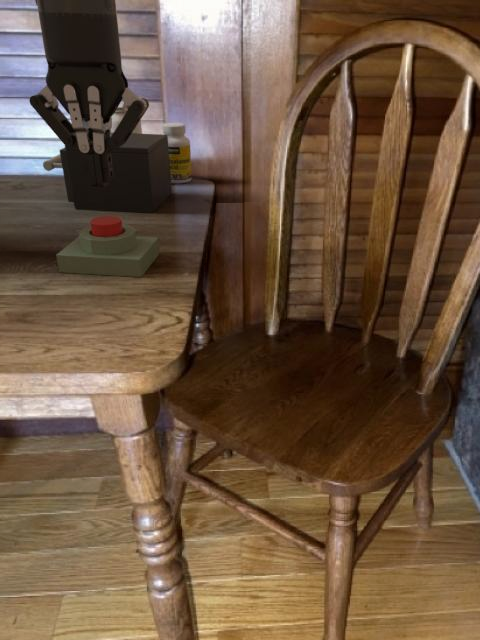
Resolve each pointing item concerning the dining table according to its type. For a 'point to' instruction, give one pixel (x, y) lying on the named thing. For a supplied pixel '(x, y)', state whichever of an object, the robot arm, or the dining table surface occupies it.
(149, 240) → the control block
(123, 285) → the dining table surface
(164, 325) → the dining table surface
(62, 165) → the drawer
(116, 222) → the button
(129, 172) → the dark grey storage box
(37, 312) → the dining table surface
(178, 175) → the supplement bottle
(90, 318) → the dining table surface
